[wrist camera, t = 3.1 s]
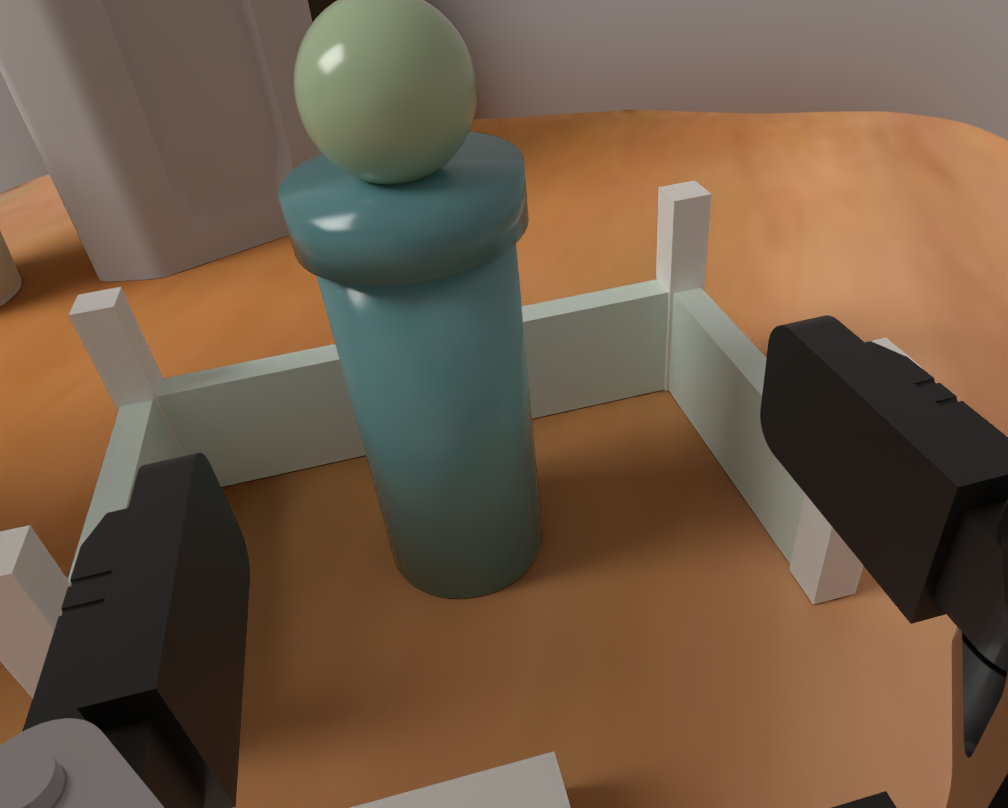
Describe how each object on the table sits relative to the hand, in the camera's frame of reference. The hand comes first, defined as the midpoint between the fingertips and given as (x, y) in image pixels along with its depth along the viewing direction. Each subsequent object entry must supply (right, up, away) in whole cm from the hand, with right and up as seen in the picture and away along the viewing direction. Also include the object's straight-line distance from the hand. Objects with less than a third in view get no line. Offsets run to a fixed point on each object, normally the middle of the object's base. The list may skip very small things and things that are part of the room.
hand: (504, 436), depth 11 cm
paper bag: (-18, +14, +45) cm, 51 cm away
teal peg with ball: (-1, -4, +17) cm, 18 cm away
